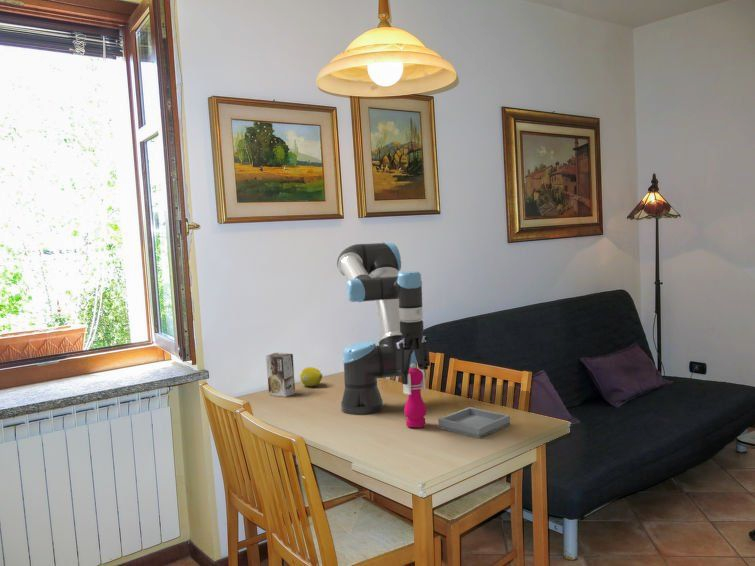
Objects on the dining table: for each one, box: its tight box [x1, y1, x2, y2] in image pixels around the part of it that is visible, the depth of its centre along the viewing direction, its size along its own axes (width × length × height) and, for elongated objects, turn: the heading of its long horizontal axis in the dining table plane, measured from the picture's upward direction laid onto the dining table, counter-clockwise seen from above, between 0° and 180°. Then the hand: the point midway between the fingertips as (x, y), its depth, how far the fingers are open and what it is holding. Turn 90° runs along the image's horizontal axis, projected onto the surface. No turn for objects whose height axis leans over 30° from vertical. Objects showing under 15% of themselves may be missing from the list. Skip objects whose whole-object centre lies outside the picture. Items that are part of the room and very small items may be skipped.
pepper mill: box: [403, 364, 427, 428], centre depth 200 cm, size 7×7×20 cm
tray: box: [438, 406, 511, 439], centre depth 197 cm, size 16×16×3 cm
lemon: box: [299, 366, 323, 387], centre depth 259 cm, size 11×8×8 cm
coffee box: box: [265, 352, 296, 398], centre depth 248 cm, size 9×6×16 cm
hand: (414, 391), depth 200 cm, fingers closed on pepper mill, 6 cm apart
